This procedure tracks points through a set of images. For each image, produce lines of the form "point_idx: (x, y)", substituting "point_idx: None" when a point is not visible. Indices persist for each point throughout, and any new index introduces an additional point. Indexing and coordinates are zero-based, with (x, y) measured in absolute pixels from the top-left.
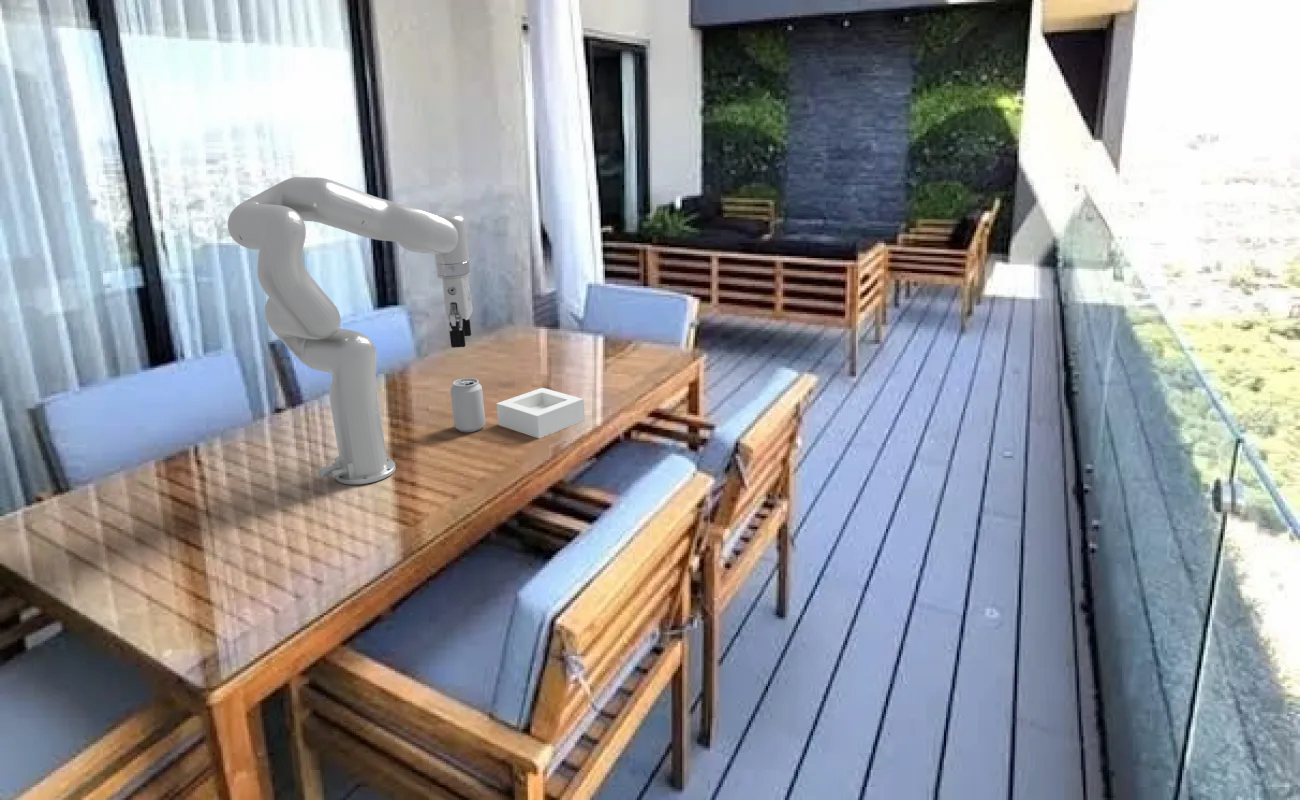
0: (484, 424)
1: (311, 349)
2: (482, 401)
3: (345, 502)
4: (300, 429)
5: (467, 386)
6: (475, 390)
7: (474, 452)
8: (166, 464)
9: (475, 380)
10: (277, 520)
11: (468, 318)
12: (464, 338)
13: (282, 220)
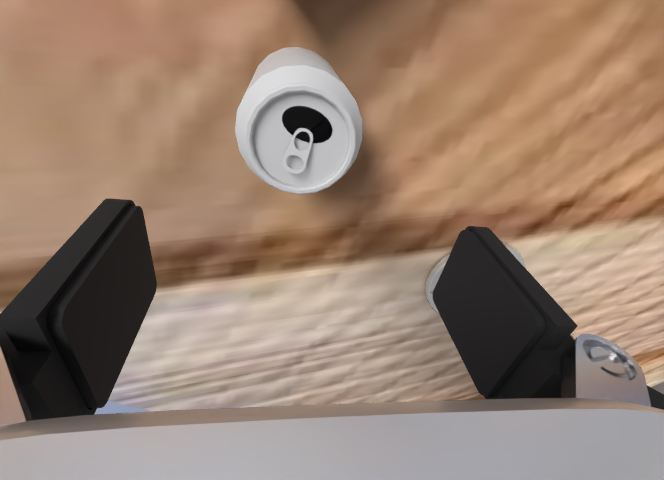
0: (313, 51)
1: None
2: (314, 60)
3: (561, 284)
4: (236, 383)
5: (355, 134)
6: (350, 96)
7: (481, 86)
8: None
9: (273, 98)
10: None
11: (647, 409)
12: (520, 264)
13: None
